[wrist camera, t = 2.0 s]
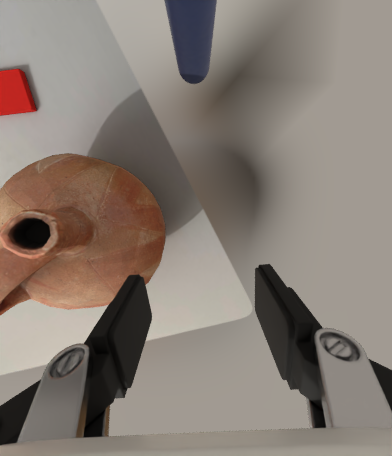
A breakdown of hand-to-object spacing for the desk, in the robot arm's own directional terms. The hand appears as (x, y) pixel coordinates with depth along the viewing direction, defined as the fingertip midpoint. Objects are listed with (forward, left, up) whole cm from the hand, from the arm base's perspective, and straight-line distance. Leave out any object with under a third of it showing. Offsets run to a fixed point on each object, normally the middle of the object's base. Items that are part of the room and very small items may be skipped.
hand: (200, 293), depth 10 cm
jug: (0, -13, -20) cm, 24 cm away
